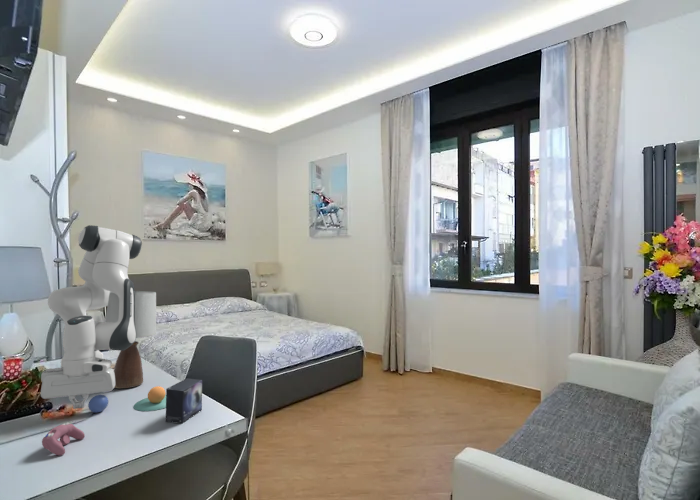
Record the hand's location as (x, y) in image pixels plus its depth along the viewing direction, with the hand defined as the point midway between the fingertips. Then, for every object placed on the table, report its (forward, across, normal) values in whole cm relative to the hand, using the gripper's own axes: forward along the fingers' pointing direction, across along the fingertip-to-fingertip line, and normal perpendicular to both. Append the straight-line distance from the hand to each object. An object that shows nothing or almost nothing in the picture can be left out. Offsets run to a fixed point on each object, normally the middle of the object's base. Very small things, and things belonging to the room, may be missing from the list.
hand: (79, 407), depth 123 cm
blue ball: (-1, +6, -2) cm, 6 cm away
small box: (+2, +33, -15) cm, 37 cm away
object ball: (-1, +23, 0) cm, 23 cm away
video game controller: (+2, +4, -25) cm, 25 cm away
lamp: (+2, +9, +24) cm, 26 cm away
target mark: (+2, +23, 0) cm, 23 cm away
